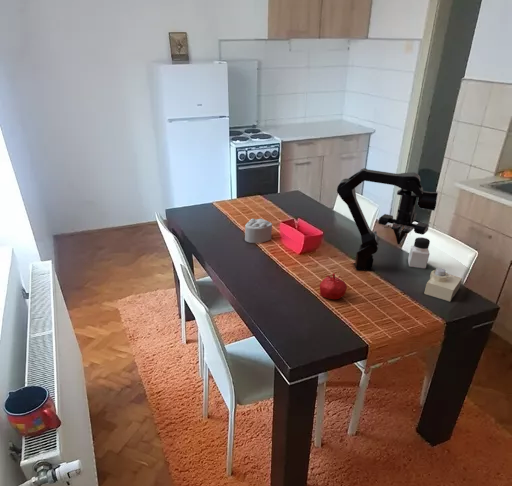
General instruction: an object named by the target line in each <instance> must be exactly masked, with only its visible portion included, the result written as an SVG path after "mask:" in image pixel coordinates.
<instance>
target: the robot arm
mask: <svg viewBox="0 0 512 486" xmlns="http://www.w3.org/2000/svg"><path fill="white" fill-rule="evenodd" d="M364 181H365V182H369V183H375V184H376V183H378V184H383V185H391V186H394V187H398V188H399V189H398V190H397V192H396V195H397V196H401V197H400V200H399V201H400V202H399V206H398V209H397V216H396V218H394V215H391V214H387V213H384V214H383V215H381V216H380V217H379V218H378V221H377V223H378V225H381V226H387V224H392V225H391V230H392V231H393V232H394V235H395V239H396V243H397V245H401V244H402V242H403V240H404V239H405V237H406V236H407V234H409V233H411V232H412V231H413V232H414V233H415V234H418V235H425V234H426V233H427V232H428V231H429V228H430V227H429V224H428V223H425V222H421V221H419V222H418V223H417V224H416V223H414V222H415V221H416V218H417V215H418V213H417V212H415V211H416V209H415V208H416V206H418V208H419V210H427V211H432V212H434V211H435V210H436V207H437V200H438V193H439V192H438V191H426V190H424V187H423V186H422V184H421V176H420V175H419V174H418V173H417V172H400V173H396V172H395V173H394V172H387V171H381V170H373V169H367V168H360V170H359V171H357V172H356V173H354V174H352V175H351V176H349V177H348V178H343V179H342V180H341V181H339V184H338V185H337V188H336V193H337V194H338V196H339V197H340V199H341V200H342V201H343V202H344V203H345V205H347V208H348V210H349V212H350V214H351V217H352V218H353V221H354V223H355V226H356V227H357V230H358V232H359V234H360V238H361V244H359V247H358V250H357V251H356V256H355V260H354V263H353V266H354V268H355V270H356V271H370V272H371V271H372V268H373V264H374V255H375V254H376V253H377V252H378V249H379V246H380V241H381V240H380V239H381V238H380V237H379V235H378V232H377V230H375V231H373V230H372V229H371V228H370V226H369V223H368V222H367V219H366V217H365V215H364V212H363V210H362V208H361V205H360V204H359V202H358V198H357V192H356V188H357V187H358V186H359V185H361V184H362V183H363V182H364Z"/></svg>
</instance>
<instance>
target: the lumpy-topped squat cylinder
mask: <svg viewBox="0 0 512 486" xmlns="http://www.w3.org/2000/svg"><path fill="white" fill-rule="evenodd" d="M272 233H273V223H272V222H270V221H268V220H266V219H264V218H257V219H256V218H250V219H249V221H248V222H246V223H245V226H244V242H246V243H250V244H261V243H266V242H268V241H271V240H272V236H273V235H272Z"/></svg>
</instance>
